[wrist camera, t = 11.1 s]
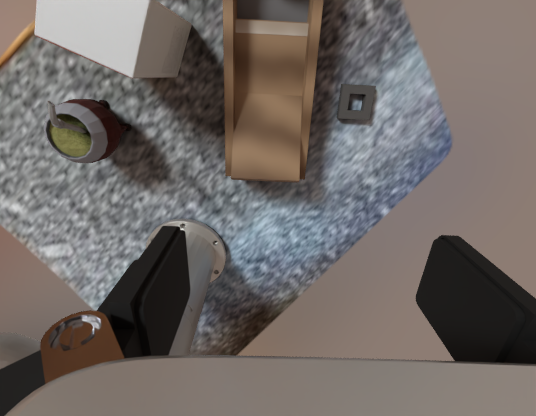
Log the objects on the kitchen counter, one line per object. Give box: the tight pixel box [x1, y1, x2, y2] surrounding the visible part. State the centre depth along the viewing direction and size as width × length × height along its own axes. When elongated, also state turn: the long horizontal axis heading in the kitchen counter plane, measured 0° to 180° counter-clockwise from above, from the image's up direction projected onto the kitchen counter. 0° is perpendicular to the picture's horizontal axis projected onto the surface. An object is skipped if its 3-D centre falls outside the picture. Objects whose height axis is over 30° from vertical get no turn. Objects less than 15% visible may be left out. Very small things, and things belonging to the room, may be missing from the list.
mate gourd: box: [44, 99, 131, 163], centre depth 31 cm, size 8×8×15 cm
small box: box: [35, 0, 192, 79], centre depth 28 cm, size 8×6×13 cm
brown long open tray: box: [223, 0, 323, 182], centre depth 31 cm, size 28×10×7 cm, turn 177°
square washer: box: [337, 84, 376, 120], centre depth 36 cm, size 4×4×1 cm
